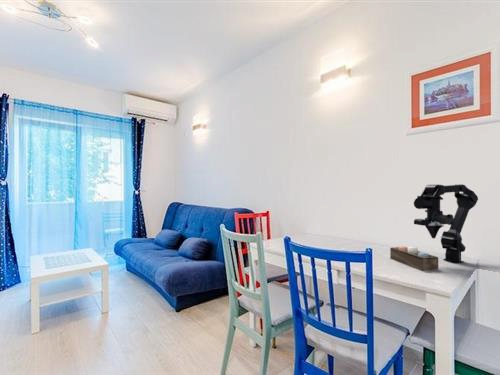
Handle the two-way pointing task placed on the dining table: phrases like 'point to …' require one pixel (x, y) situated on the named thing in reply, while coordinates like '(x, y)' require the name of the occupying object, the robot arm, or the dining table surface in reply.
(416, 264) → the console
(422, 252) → the slate button
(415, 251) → the cream button
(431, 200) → the robot arm
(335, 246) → the dining table surface
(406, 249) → the terracotta button
